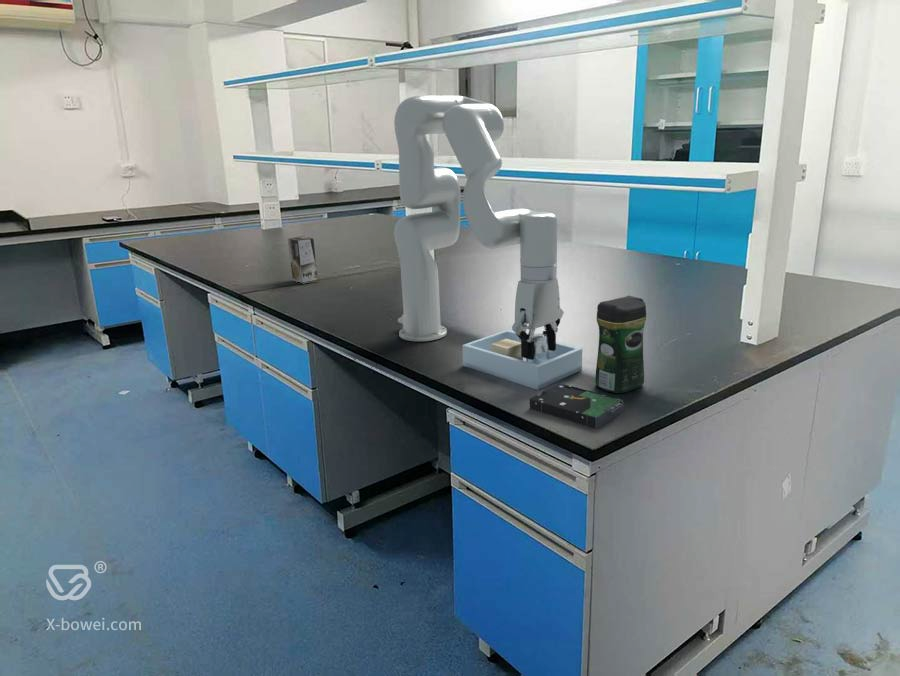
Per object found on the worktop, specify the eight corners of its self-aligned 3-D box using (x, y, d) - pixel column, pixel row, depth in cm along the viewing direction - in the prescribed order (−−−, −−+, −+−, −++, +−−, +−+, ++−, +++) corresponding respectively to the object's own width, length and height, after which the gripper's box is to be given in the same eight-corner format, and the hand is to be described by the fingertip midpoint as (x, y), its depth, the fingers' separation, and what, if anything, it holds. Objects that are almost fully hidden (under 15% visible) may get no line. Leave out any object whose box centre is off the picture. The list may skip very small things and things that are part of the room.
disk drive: (528, 412, 126) (597, 431, 116) (528, 398, 125) (597, 417, 115) (558, 395, 133) (625, 411, 123) (558, 382, 132) (625, 398, 122)
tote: (463, 365, 150) (462, 345, 148) (507, 349, 159) (507, 329, 158) (537, 390, 134) (537, 367, 133) (581, 370, 144) (582, 348, 142)
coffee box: (318, 282, 240) (314, 238, 235) (302, 285, 237) (297, 240, 232) (308, 278, 247) (303, 235, 242) (292, 281, 244) (287, 237, 239)
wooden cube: (506, 359, 149) (506, 338, 148) (523, 364, 146) (522, 343, 144) (491, 365, 146) (490, 344, 145) (508, 370, 143) (507, 348, 141)
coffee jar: (621, 375, 140) (625, 290, 134) (650, 386, 133) (655, 298, 128) (587, 385, 135) (589, 298, 130) (615, 397, 129) (618, 306, 123)
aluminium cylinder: (522, 368, 143) (519, 337, 142) (537, 363, 146) (534, 332, 145) (540, 370, 139) (536, 338, 138) (554, 365, 142) (551, 334, 141)
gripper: (550, 263, 144) (550, 340, 150) (496, 277, 133) (498, 360, 139) (578, 267, 139) (577, 347, 145) (525, 282, 128) (525, 368, 134)
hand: (538, 353), depth 142 cm, fingers open, 6 cm apart
